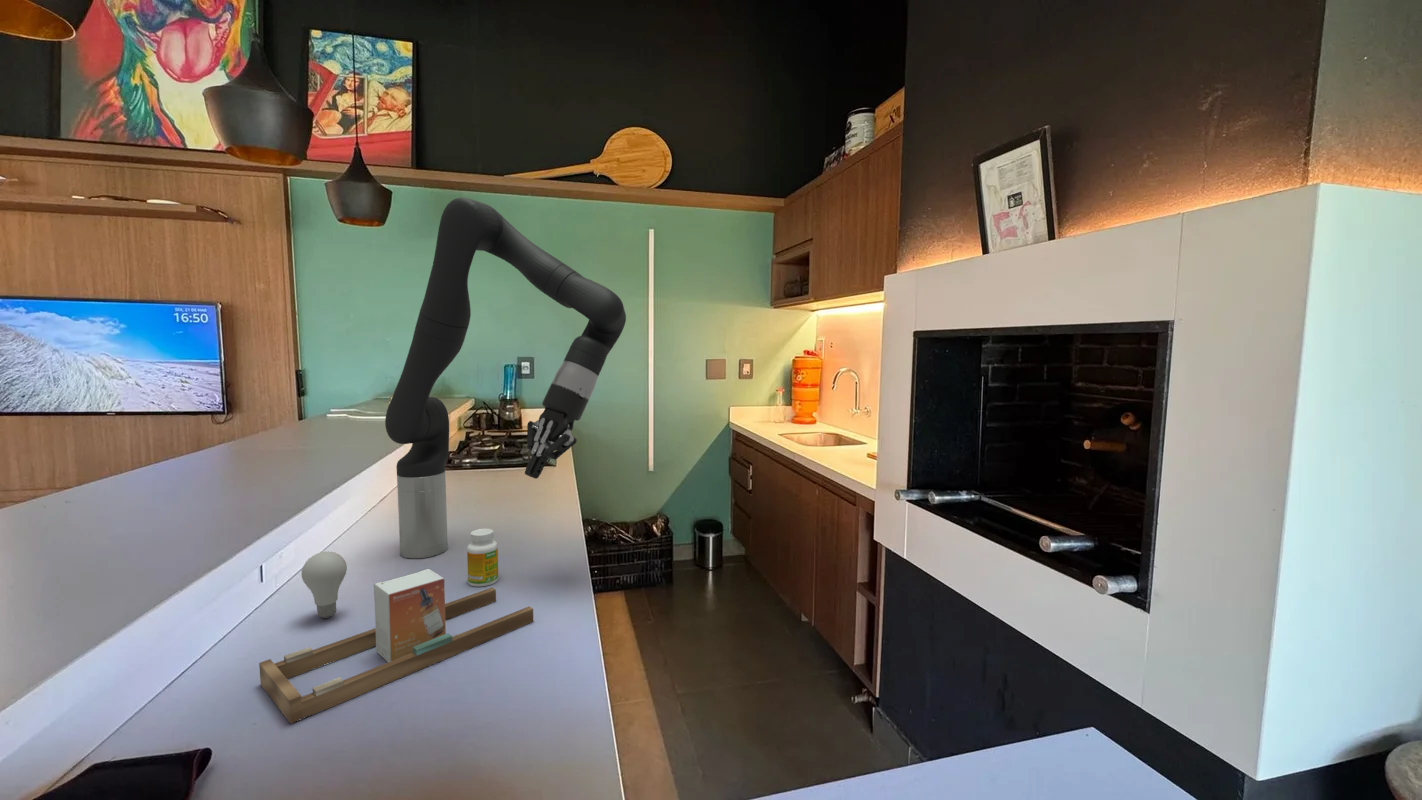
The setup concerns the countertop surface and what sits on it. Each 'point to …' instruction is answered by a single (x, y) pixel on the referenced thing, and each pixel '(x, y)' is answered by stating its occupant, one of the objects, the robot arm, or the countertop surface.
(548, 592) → the countertop surface
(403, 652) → the small box
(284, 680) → the u-shaped wooden frame
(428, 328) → the robot arm
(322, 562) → the lightbulb
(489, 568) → the supplement bottle
